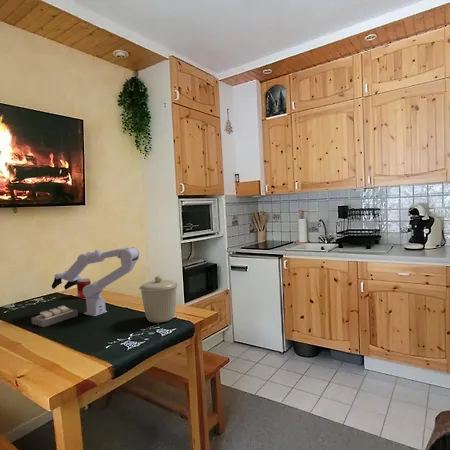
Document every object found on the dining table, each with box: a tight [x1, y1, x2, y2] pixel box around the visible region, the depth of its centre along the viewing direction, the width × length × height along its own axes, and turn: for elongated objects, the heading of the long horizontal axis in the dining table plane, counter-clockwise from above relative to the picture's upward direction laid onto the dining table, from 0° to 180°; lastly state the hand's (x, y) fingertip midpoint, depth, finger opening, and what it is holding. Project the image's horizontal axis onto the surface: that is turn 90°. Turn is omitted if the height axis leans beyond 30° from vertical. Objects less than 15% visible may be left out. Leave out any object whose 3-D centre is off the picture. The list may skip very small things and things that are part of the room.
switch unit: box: [31, 307, 79, 328], centre depth 167 cm, size 10×18×3 cm, turn 147°
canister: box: [139, 275, 179, 324], centre depth 160 cm, size 18×18×21 cm
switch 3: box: [57, 305, 69, 312], centre depth 171 cm, size 5×3×1 cm, turn 57°
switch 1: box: [39, 310, 52, 317], centre depth 163 cm, size 5×3×1 cm, turn 57°
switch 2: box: [48, 307, 61, 315], centre depth 167 cm, size 5×3×1 cm, turn 57°
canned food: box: [76, 278, 92, 300], centre depth 210 cm, size 8×8×11 cm
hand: (58, 287), depth 179 cm, fingers open, 7 cm apart
